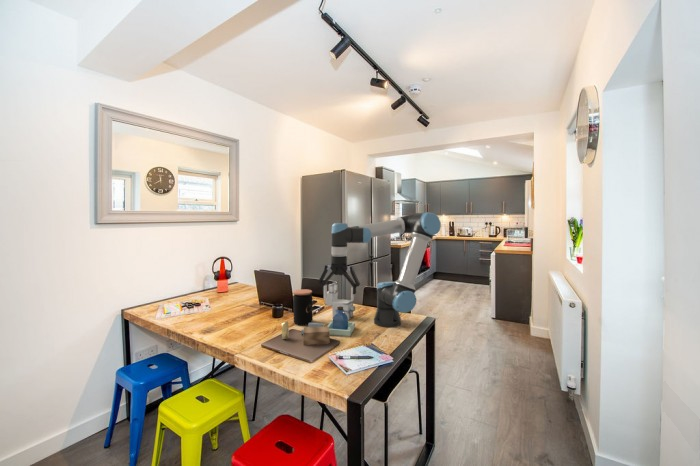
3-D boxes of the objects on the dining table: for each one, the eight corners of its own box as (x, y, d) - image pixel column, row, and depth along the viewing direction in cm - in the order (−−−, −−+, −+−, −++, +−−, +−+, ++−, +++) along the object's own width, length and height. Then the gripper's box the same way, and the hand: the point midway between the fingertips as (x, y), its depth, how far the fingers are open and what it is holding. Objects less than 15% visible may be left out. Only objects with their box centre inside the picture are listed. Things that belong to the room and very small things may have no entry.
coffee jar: (308, 326, 161) (308, 293, 160) (290, 325, 163) (290, 293, 163) (315, 320, 171) (314, 289, 171) (297, 319, 174) (297, 288, 173)
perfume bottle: (347, 328, 155) (347, 306, 155) (344, 332, 150) (344, 309, 149) (336, 327, 157) (336, 305, 157) (332, 331, 151) (332, 308, 151)
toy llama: (351, 321, 169) (351, 286, 168) (325, 317, 176) (324, 284, 176) (356, 317, 176) (356, 284, 175) (331, 314, 183) (330, 282, 182)
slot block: (323, 328, 158) (323, 323, 158) (316, 336, 147) (316, 331, 147) (309, 327, 160) (309, 322, 160) (301, 335, 148) (301, 330, 148)
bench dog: (289, 337, 145) (289, 321, 145) (287, 340, 142) (286, 324, 142) (283, 337, 146) (283, 321, 145) (280, 339, 143) (280, 323, 142)
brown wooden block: (328, 338, 145) (328, 326, 145) (329, 344, 138) (329, 331, 138) (304, 339, 143) (303, 327, 143) (303, 345, 136) (303, 332, 136)
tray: (354, 327, 158) (354, 322, 158) (349, 336, 146) (349, 330, 146) (331, 326, 161) (331, 320, 161) (324, 335, 148) (324, 329, 148)
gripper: (366, 255, 141) (365, 299, 141) (317, 253, 147) (317, 296, 148) (363, 257, 133) (362, 303, 134) (311, 255, 140) (311, 299, 140)
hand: (338, 299), depth 141 cm, fingers open, 13 cm apart
